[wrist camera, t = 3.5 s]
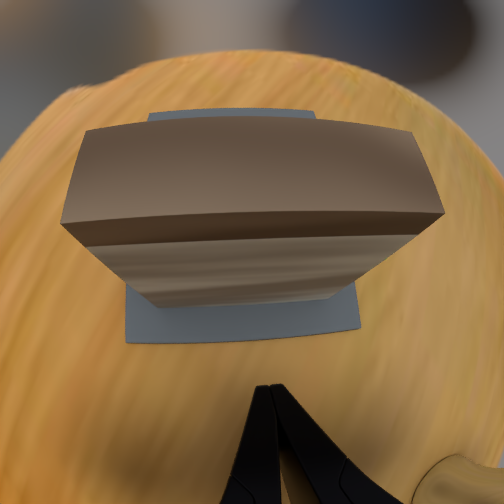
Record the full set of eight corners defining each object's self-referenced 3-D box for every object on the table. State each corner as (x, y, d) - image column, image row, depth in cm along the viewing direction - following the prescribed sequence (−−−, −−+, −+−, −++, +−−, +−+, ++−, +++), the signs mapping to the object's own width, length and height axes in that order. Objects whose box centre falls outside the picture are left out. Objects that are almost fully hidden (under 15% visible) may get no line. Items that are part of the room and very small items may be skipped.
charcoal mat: (357, 328, 17) (361, 327, 17) (128, 343, 16) (125, 342, 15) (312, 114, 23) (313, 111, 23) (150, 117, 22) (149, 113, 21)
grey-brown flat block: (327, 298, 17) (445, 213, 7) (157, 308, 16) (60, 223, 6) (320, 252, 18) (411, 132, 8) (158, 258, 17) (86, 131, 7)
